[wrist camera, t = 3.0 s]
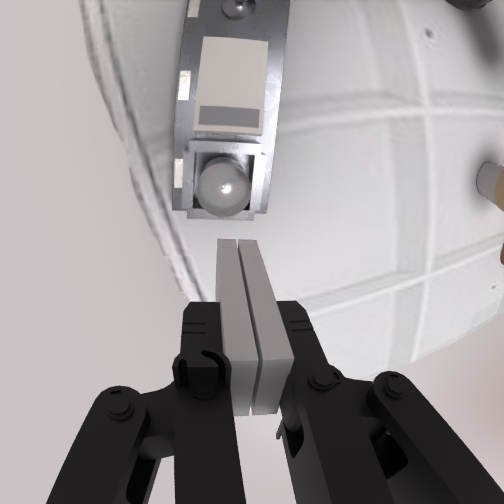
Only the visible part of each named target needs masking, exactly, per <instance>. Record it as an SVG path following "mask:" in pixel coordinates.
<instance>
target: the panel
mask: <svg viewBox="0 0 504 504" xmlns="http://www.w3.org/2000/svg"><path fill="white" fill-rule="evenodd" d="M289 6H290V0H247V2H240V1H234V0H188V3H187V9H186V16H185V22H184V29H183V37H182V45H181V53H180V62H179V72H178V82H177V94H176V108H175V124H174V144H173V180H172V210H180V211H187V219H222V220H250V221H254V214H255V213H265V214H266V212H267V204H268V196H269V187H270V179H271V171H272V162H273V153H274V145H275V136H276V127H277V118H278V110H279V101H280V91H281V82H282V73H283V64H284V54H285V45H286V35H287V26H288V16H289ZM203 37H226V38H239V39H250V40H259V41H266V42H268V53H267V71H266V88H265V106H264V123H263V135H262V136H260V137H258V136H246V135H231V134H212V133H194V132H193V125H194V114H195V103H196V93H197V84H198V75H199V67H200V59H201V51H202V44H203ZM219 157H228V158H231V159H234V160H235V161H237V162H238V163H239V164H240V165H241V166H242V167H243V169H244V171H245V173H246V175H247V177H248V179H249V181H250V184H251V189H252V192H251V198H250V201H249V203H248V204H247V206H246V207H245V208H244V209H243V210H242V211H241V212H240V213H238V214H236V215H234V216H230V217H217V216H214V215H211V214H210V213H208V212H207V211H205V210H204V209H203V207H202V206H201V205H200V203H199V200H198V197H197V186H198V181H199V176H200V172H201V170H202V168H203V167H204V166H205V165H206V164H207V163H208V162H209V161H211V160H212V159H215V158H219Z"/></svg>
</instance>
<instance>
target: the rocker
mask: <svg viewBox="0 0 504 504" xmlns="http://www.w3.org/2000/svg"><path fill="white" fill-rule="evenodd" d="M267 53H268V42H266V41H259V40H250V39H239V38H226V37H203V44H202V51H201V59H200V67H199V75H198V84H197V93H196V103H195V114H194V125H193V132H194V133H212V134H231V135H246V136H258V137H260V136H262V135H263V123H264V106H265V88H266V71H267Z"/></svg>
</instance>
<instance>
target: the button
mask: <svg viewBox="0 0 504 504" xmlns="http://www.w3.org/2000/svg"><path fill="white" fill-rule="evenodd" d="M251 192H252V189H251V184H250V181H249V179H248V177H247V175H246V173H245V171H244V169H243V167H242V166H241V165H240V164H239V163H238V162H237V161H235V160H234V159H231V158H228V157H219V158H215V159H212V160H211V161H209V162H208V163H207V164H206V165H205V166H204V167H203V168H202V170H201V172H200V176H199V181H198V186H197V197H198V200H199V203H200V205H201V206H202V207H203V209H204V210H205V211H207V212H208V213H210V214H211V215H214V216H217V217H230V216H234V215H236V214H238V213H240V212H241V211H242V210H243V209H244V208H245V207H246V206H247V204H248V203H249V201H250V198H251Z"/></svg>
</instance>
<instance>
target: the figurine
mask: <svg viewBox="0 0 504 504" xmlns="http://www.w3.org/2000/svg"><path fill="white" fill-rule="evenodd" d="M500 259H501V262H502V264H503V265H504V245H503V249H502V251H501V256H500Z"/></svg>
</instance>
